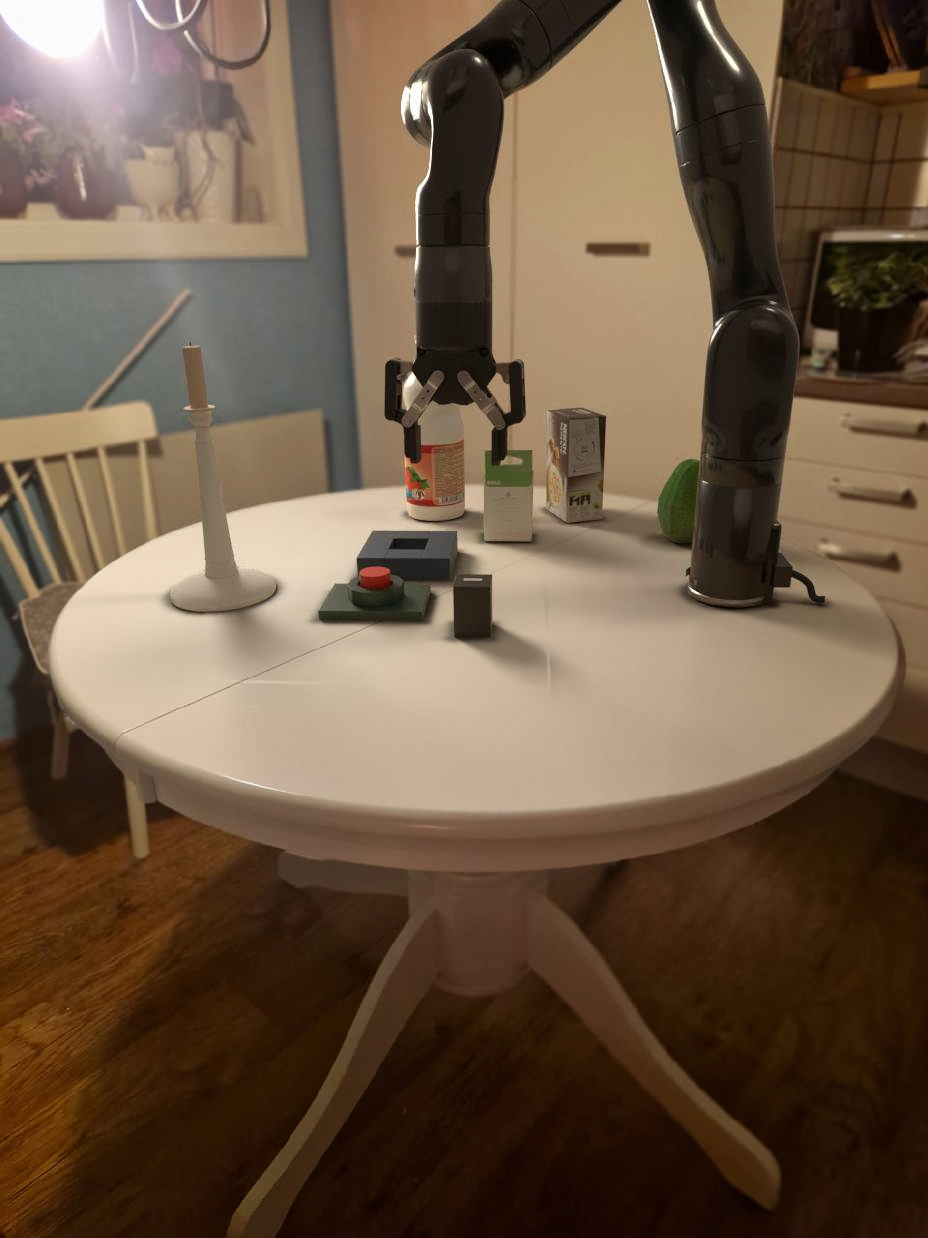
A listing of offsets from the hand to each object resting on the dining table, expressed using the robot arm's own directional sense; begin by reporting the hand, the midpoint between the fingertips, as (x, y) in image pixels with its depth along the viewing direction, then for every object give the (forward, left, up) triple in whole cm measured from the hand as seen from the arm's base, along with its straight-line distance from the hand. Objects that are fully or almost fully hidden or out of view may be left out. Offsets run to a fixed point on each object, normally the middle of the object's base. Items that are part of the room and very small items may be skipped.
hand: (455, 463), depth 90 cm
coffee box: (-15, -46, -19) cm, 52 cm away
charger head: (-2, +1, -19) cm, 19 cm away
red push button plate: (+10, -6, -19) cm, 22 cm away
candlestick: (+30, -10, -19) cm, 37 cm away
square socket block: (+8, -21, -19) cm, 29 cm away
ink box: (-5, -33, -19) cm, 38 cm away
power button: (+10, -6, -16) cm, 20 cm away
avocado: (-30, -32, -19) cm, 47 cm away
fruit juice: (+7, -46, -19) cm, 50 cm away
